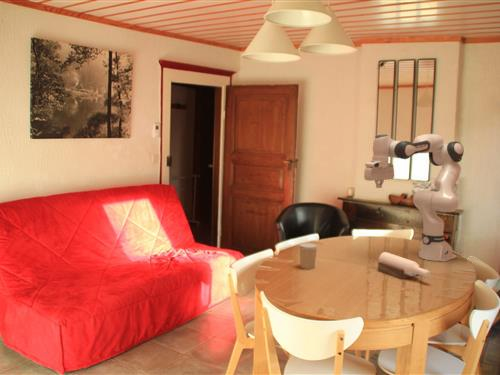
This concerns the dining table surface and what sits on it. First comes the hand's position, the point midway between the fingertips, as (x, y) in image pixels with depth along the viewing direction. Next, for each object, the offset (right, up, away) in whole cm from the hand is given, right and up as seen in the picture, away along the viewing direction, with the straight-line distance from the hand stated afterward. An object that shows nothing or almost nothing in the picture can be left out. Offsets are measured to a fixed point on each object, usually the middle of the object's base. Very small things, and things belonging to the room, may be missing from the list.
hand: (378, 187), depth 289 cm
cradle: (+5, -45, -22) cm, 50 cm away
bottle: (-1, -38, -15) cm, 41 cm away
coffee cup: (-42, -43, -14) cm, 62 cm away
